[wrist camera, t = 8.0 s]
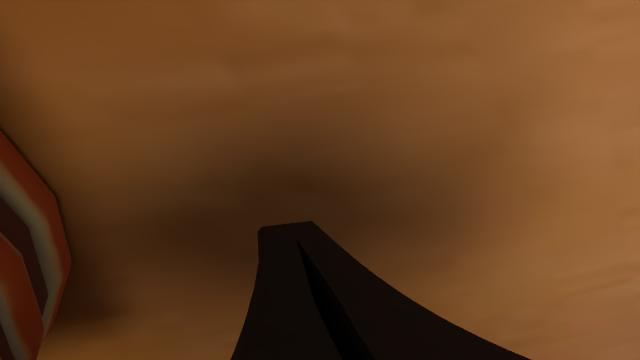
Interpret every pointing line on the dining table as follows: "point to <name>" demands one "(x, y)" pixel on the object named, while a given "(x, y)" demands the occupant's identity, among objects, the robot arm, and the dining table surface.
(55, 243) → the hamburger
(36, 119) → the dining table surface
